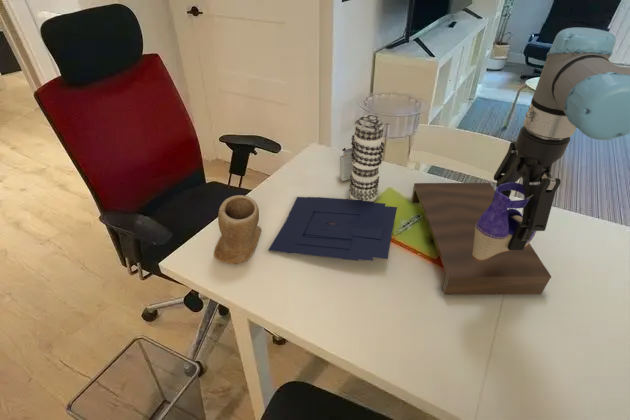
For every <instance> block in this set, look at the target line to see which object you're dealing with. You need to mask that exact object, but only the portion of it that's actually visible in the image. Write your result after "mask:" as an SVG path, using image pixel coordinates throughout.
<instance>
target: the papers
mask: <svg viewBox="0 0 630 420" xmlns="http://www.w3.org/2000/svg"><path fill="white" fill-rule="evenodd" d="M386 205H387V204H386V203H384V202H375V201H373V202H372V201H363V200H352V199H351V198H335V197H320V196H315V197H314V196H297V197H296V198H295V201H294V203H293V205H292V207H291V209H290V211H289V214H288V216H287V218H286V219H285V221H284V224H283V225H282V227H281V228H280V230H279V232H278V233H277V235H276V237H275V238H274V240H273V242H272V243H271V244H270V246H269V248H268V251H272V252H278V253H283V254H296V255H297V254H298V255H305V256H315V257H324V258H332V259H339V260H340V259H341V260H347V261H356V262H357V261H359V260H360V261H369V262H371V261H372V262H373V261H374V259H384V260H388V259H389V254H390V249H391V242H392V236H393V230H394V225H395V221H396V215H397V210H398V206H388V205H387V206H386Z"/></svg>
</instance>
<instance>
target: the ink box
mask: <svg viewBox="0 0 630 420" xmlns="http://www.w3.org/2000/svg"><path fill="white" fill-rule="evenodd" d="M351 149H352V147H350V148H347V149H344V150H343V155H341V156H339V178H340V180H341V181H342V182H345V181H348V180H349V181H350V180H351V178H350V176H351V173H352V168H353V164H352V161H351V160H352V156H351V154H352V151H351Z"/></svg>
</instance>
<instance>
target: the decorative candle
mask: <svg viewBox="0 0 630 420" xmlns="http://www.w3.org/2000/svg"><path fill="white" fill-rule="evenodd" d="M354 125H355V127H354V128H355V129H354V134H352V135H351V143H350V144H351V148H352V149H351V151H352V154H351V156H352V160H351V161H352V164H353V168H352V173H351V176H350V178H351V179H349V182H350V183H349V190H348V192H349V195H348V196H349V199H352V200H363V201H372V202H375V200H376V199H377V197H378V191H379V183H380V176H379V173H380V166H381V165H382V162H383V153H384V151H385V149H384V148H385V143H384V142H383V141H384V128H385V127H386V123H385V122H384V121H383V120H382V118H380V116H377V115H373V114H365V115H362V116H361V117H359V118H358V119H357V120H356V121H355V122H354Z"/></svg>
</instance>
